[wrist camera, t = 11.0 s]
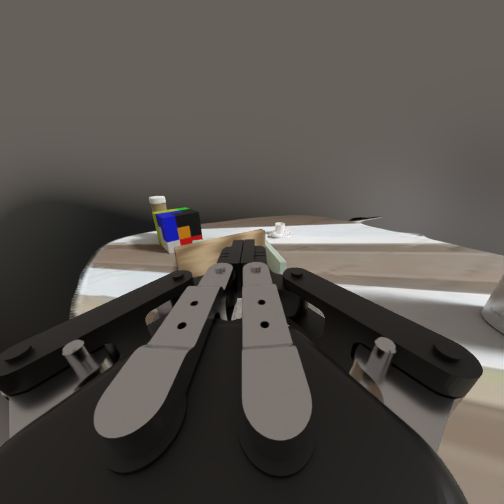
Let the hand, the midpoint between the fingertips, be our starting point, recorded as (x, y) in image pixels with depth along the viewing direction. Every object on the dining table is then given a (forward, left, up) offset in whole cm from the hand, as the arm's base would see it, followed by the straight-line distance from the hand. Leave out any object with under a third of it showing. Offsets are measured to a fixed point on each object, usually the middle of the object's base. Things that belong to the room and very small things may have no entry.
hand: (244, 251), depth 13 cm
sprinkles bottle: (+31, -48, -15) cm, 59 cm away
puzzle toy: (+23, -41, -16) cm, 49 cm away
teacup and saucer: (-6, -49, -16) cm, 52 cm away
